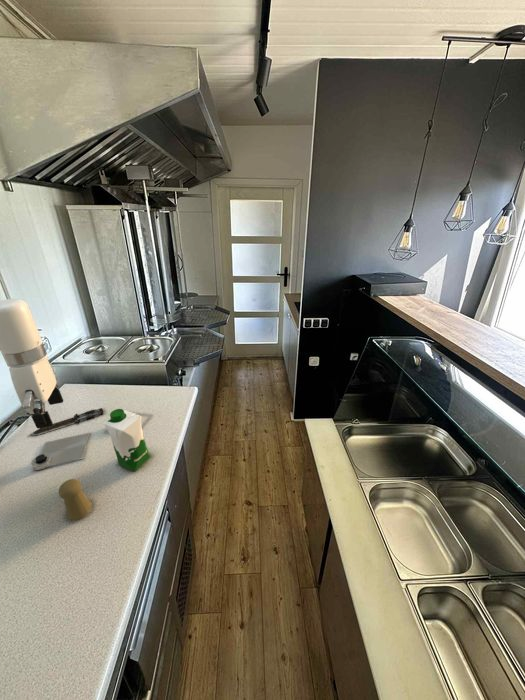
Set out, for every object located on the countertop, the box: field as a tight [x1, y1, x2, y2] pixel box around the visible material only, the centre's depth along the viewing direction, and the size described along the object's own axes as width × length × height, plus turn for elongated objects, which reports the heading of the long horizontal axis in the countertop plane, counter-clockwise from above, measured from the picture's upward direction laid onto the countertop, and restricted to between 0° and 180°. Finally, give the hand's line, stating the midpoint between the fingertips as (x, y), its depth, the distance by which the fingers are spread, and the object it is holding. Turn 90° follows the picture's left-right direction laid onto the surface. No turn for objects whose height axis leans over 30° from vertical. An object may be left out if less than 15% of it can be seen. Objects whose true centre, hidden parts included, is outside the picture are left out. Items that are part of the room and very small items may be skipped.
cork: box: [58, 478, 93, 522], centre depth 79 cm, size 6×6×11 cm
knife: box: [29, 407, 104, 436], centre depth 115 cm, size 25×6×1 cm, turn 118°
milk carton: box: [104, 408, 151, 472], centre depth 93 cm, size 9×9×20 cm
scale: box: [30, 432, 90, 471], centre depth 100 cm, size 15×14×2 cm
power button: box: [34, 453, 46, 464], centre depth 95 cm, size 3×3×2 cm
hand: (51, 414), depth 72 cm, fingers open, 9 cm apart
